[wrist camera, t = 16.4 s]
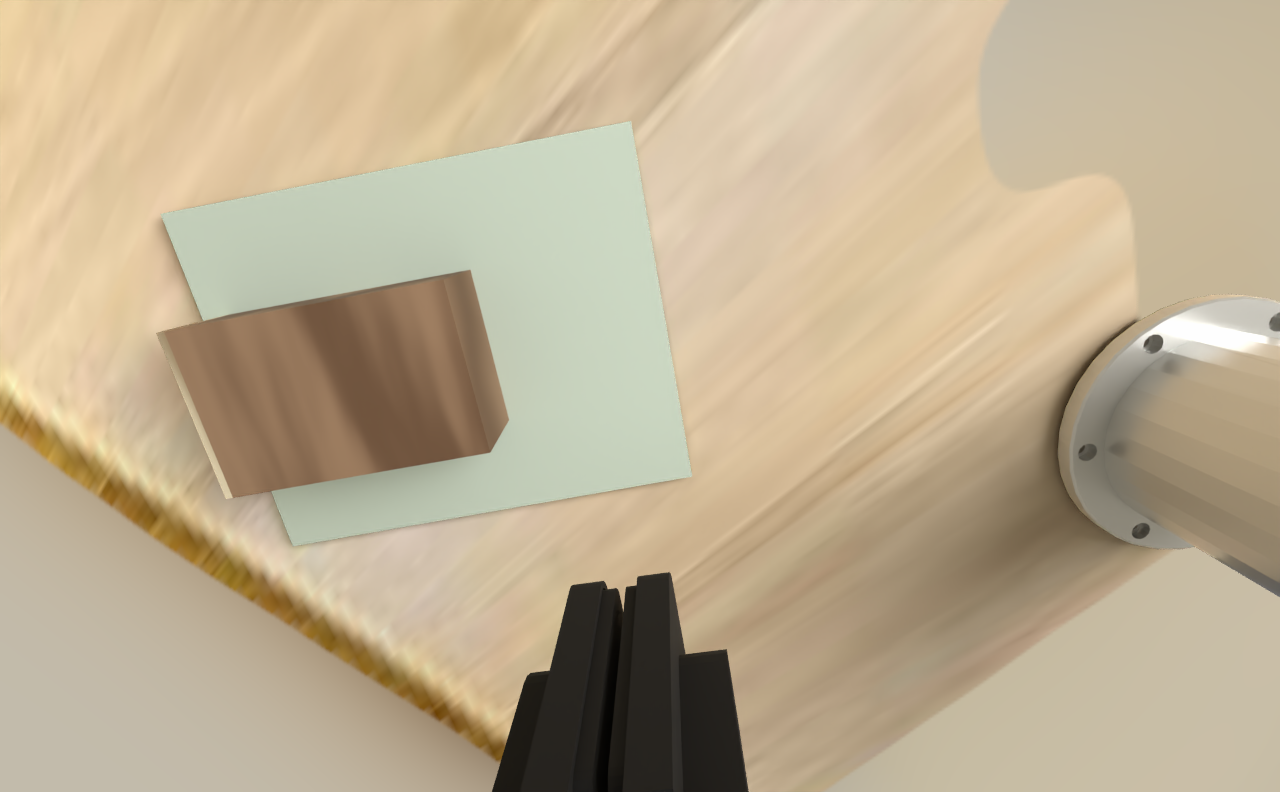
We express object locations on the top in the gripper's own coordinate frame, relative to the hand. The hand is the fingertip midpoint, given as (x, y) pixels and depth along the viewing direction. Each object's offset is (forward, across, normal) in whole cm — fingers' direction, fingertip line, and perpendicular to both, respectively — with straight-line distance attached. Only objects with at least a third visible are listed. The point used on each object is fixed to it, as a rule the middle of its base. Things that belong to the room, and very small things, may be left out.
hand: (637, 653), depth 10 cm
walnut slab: (+16, +7, -2) cm, 18 cm away
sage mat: (+18, +9, -3) cm, 21 cm away
